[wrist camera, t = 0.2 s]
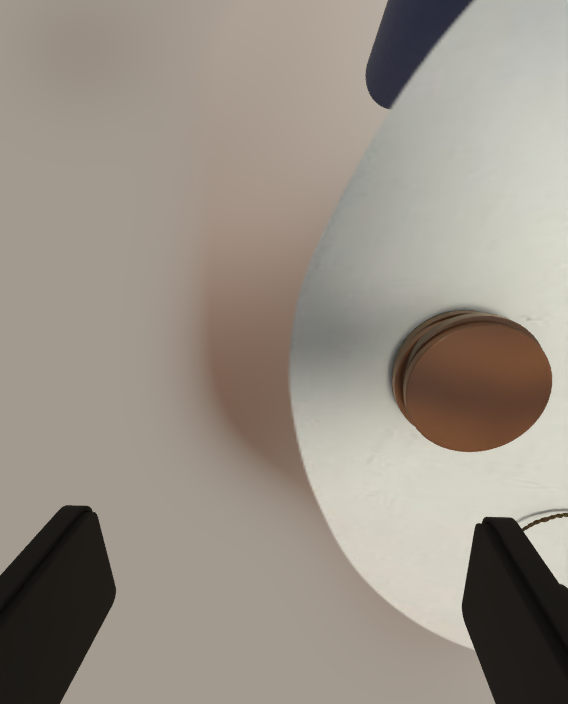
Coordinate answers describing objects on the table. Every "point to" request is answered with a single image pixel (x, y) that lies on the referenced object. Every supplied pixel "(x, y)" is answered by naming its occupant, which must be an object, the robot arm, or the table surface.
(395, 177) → the table surface
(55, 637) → the robot arm
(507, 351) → the chip pile
